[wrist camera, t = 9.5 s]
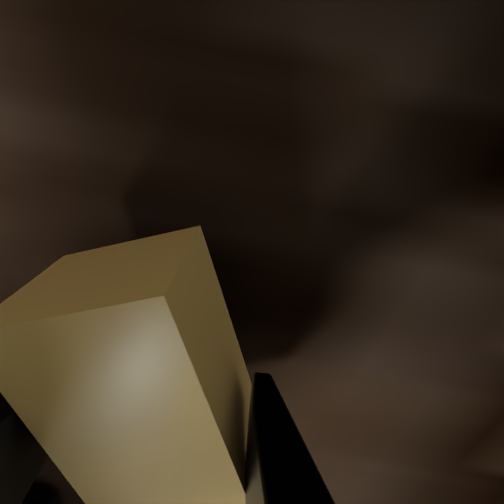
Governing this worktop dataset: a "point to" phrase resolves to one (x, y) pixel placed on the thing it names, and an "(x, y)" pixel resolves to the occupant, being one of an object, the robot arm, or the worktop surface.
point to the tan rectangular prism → (131, 373)
